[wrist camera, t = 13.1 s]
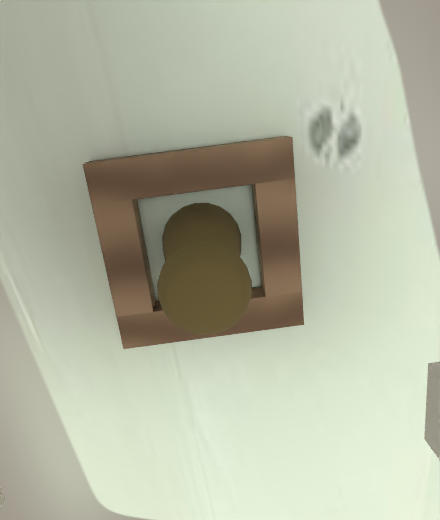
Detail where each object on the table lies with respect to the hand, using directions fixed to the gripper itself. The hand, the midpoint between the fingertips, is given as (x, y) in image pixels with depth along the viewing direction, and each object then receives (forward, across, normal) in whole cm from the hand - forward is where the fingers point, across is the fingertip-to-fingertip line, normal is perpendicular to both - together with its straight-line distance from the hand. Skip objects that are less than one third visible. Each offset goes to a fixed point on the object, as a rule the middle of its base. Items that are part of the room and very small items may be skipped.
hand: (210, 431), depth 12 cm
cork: (+21, 0, 0) cm, 21 cm away
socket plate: (+21, 0, 0) cm, 21 cm away
